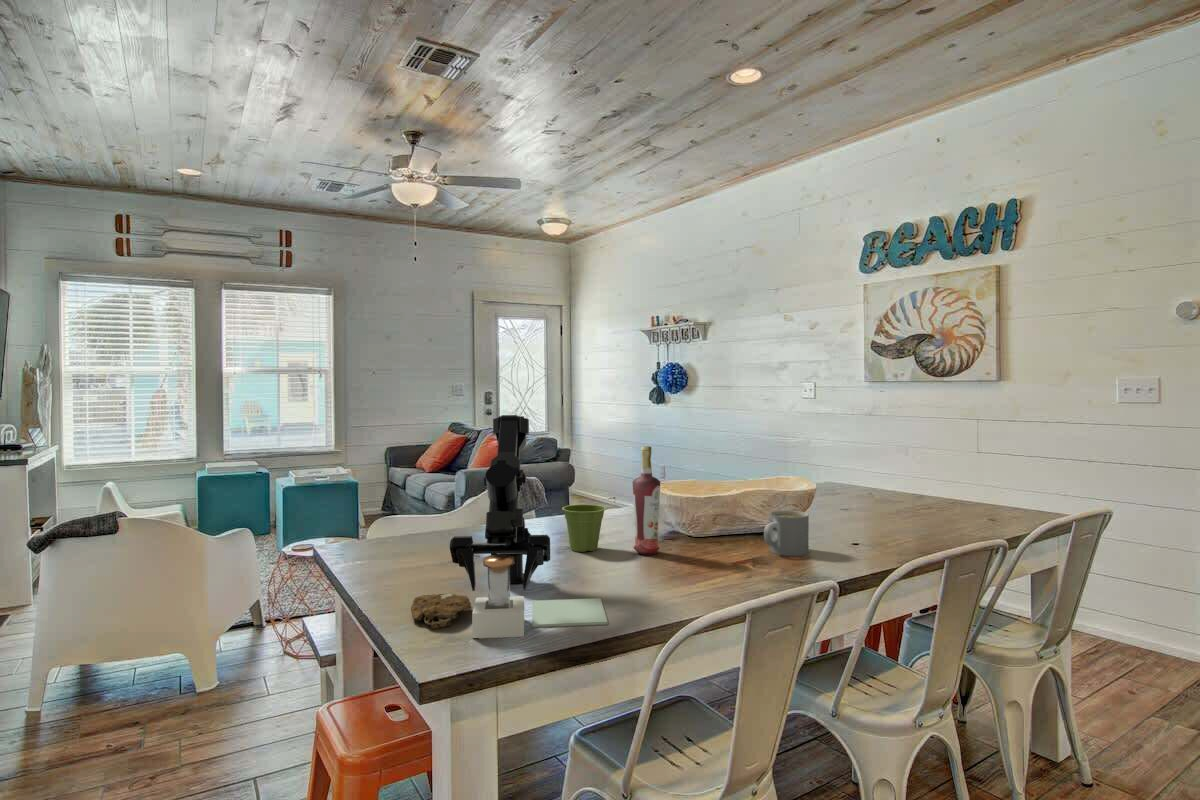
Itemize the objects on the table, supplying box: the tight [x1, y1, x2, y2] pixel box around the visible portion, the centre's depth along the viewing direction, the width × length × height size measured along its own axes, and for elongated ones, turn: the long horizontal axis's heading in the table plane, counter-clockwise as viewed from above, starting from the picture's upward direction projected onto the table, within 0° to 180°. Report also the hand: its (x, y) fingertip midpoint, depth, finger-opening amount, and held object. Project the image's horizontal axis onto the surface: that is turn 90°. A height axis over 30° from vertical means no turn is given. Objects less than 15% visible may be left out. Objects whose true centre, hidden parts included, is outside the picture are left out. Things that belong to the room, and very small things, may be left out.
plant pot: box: [561, 503, 607, 553], centre depth 187 cm, size 12×12×11 cm
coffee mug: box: [763, 509, 810, 557], centre depth 183 cm, size 13×10×10 cm
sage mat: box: [531, 597, 609, 628], centre depth 135 cm, size 14×14×1 cm
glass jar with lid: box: [482, 554, 514, 609], centre depth 127 cm, size 6×6×13 cm
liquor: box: [632, 446, 661, 556], centre depth 182 cm, size 7×7×28 cm
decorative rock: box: [410, 593, 473, 629], centre depth 134 cm, size 11×4×15 cm
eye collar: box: [471, 595, 525, 639], centre depth 127 cm, size 9×9×4 cm
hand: (498, 589), depth 126 cm, fingers open, 9 cm apart
